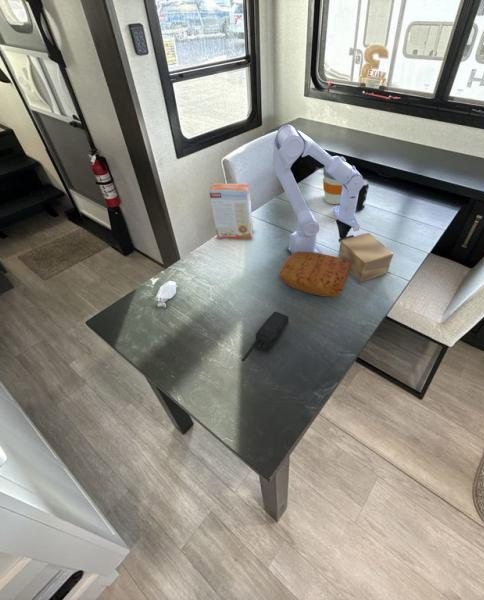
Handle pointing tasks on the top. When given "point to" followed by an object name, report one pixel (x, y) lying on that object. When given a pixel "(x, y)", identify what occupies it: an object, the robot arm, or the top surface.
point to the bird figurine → (166, 292)
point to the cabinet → (365, 256)
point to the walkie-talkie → (269, 332)
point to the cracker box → (232, 210)
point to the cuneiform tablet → (315, 273)
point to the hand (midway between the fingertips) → (342, 237)
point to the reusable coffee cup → (331, 188)
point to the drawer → (345, 239)
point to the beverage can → (362, 196)
